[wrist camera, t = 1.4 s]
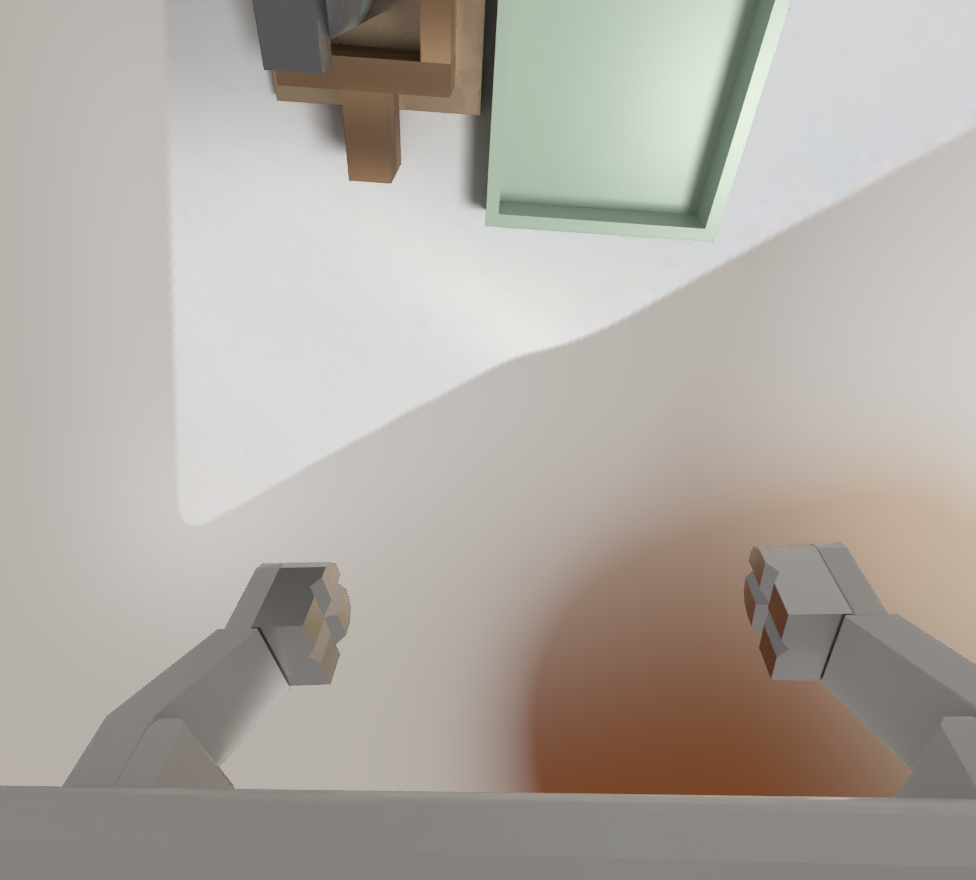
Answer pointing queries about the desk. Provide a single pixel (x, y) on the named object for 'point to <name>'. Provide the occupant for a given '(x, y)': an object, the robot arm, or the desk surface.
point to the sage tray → (624, 112)
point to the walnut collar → (386, 88)
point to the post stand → (365, 44)
